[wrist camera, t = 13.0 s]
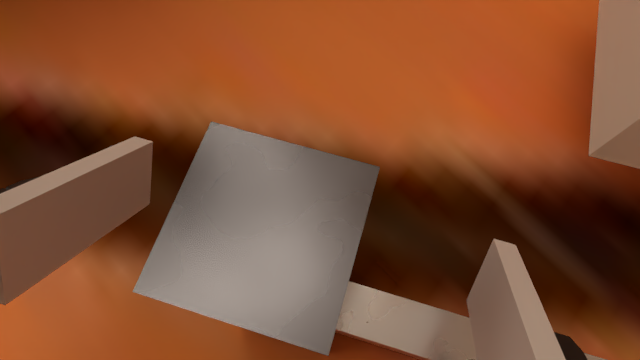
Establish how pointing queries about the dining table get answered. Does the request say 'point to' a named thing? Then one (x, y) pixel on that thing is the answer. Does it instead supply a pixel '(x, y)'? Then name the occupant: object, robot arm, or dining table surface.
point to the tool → (286, 251)
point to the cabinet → (617, 84)
